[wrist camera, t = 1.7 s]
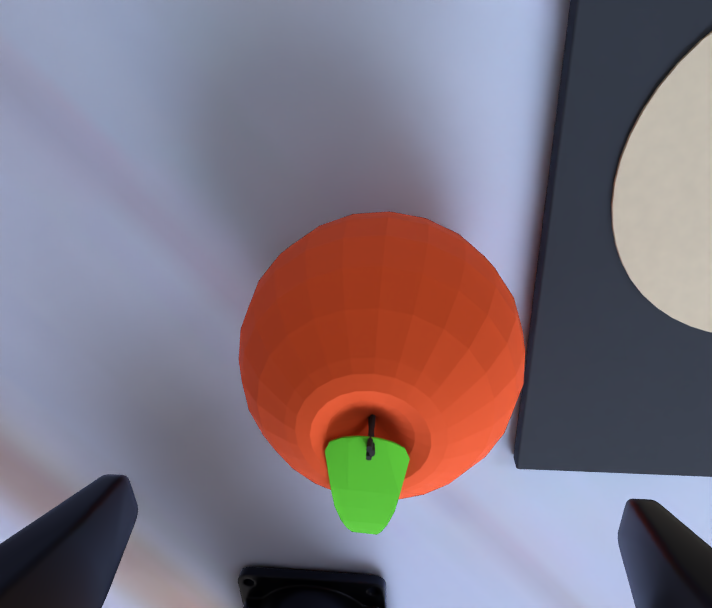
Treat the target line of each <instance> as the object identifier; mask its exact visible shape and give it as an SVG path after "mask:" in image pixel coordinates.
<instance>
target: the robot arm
mask: <svg viewBox="0 0 712 608" xmlns="http://www.w3.org/2000/svg"><path fill="white" fill-rule="evenodd" d="M137 514H138V505H137V502H136V498H135V495H134V492H133V489H132V486H131V483H130V480H129V478H128V477H126V476H125V475H113V474H107V475H103V476H101V477H100V478H98V479H97V480H95V481H94V482H92V483H91V484H89V485H88V486H86V487H85V488H83V489H82V490H80V491H79V492H77V493H76V494H74V495H73V496H71V497H70V498H68V499H67V500H65V501H64V502H62V503H61V504H59V505H58V506H56V507H55V508H53V509H52V510H50V511H49V512H47V513H46V514H44V515H43V516H41V517H40V518H38V519H37V520H35V521H34V522H32V523H31V524H29V525H28V526H26V527H25V528H23V529H22V530H20V531H19V532H17V533H16V534H14V535H13V536H11V537H10V538H8V539H7V540H5V541H4V542H3V543H1V544H0V608H102V605H103V603H104V601H105V599H106V596H107V594H108V592H109V589H110V587H111V584H112V582H113V579H114V576H115V574H116V571H117V569H118V566H119V563H120V561H121V558H122V555H123V553H124V550H125V548H126V545H127V542H128V540H129V537H130V535H131V532H132V529H133V527H134V524H135V522H136V519H137ZM618 543H619V548H620V552H621V555H622V559H623V563H624V566H625V570H626V574H627V577H628V581H629V585H630V588H631V592H632V595H633V599H634V603H635V606H636V608H712V548H711V547H710V546H709V545H708V544H707V543H706V542H704V541H703V540H702V539H701V538H700V537H698V536H697V535H696V534H695V533H694V532H692V531H691V530H690V529H689V528H688V527H687V526H685V525H684V524H683V523H682V522H681V521H679V520H678V519H677V518H676V517H675V516H674V515H672V514H671V513H670V512H669V511H668V510H666V509H665V508H664V507H663V506H662V505H660V504H659V503H658V502H656V501H654V500H647V499H630V500H628V501H627V502H626V505H625V508H624V512H623V516H622V519H621V523H620V527H619V531H618ZM238 584H239V588H240V592H241V597H242V601H243V605H244V606H243V608H386V583H385V580H384V579H383V578H381V577H379V576H376V575H365V574H350V573H335V572H320V571H305V570H290V569H275V568H260V567H245V568H243V569H242V570H241V572H240V575H239V578H238Z"/></svg>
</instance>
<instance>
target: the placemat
mask: <svg viewBox="0 0 712 608" xmlns="http://www.w3.org/2000/svg"><path fill="white" fill-rule="evenodd" d="M514 460H515V464H516V468H518V469H536V470H560V471H584V472H609V473H633V474H658V475H682V476H706V477H712V0H571V2H570V10H569V18H568V26H567V34H566V42H565V50H564V58H563V66H562V74H561V82H560V90H559V98H558V106H557V114H556V122H555V130H554V138H553V146H552V154H551V162H550V170H549V178H548V186H547V194H546V202H545V210H544V218H543V226H542V234H541V242H540V250H539V258H538V266H537V274H536V282H535V291H534V299H533V307H532V315H531V323H530V331H529V339H528V347H527V355H526V363H525V371H524V384H523V387H522V395H521V403H520V411H519V419H518V427H517V435H516V443H515V451H514Z"/></svg>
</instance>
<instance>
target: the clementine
mask: <svg viewBox="0 0 712 608" xmlns="http://www.w3.org/2000/svg"><path fill="white" fill-rule="evenodd" d="M239 365H240V372H241V379H242V384H243V388H244V392H245V396H246V400H247V404H248V409H249V411H250V413H251V415H252V416H253V418H254V420H255V422H256V423H257V425H258V427H259V429H260V430H261V432H262V434H263V436H264V437H265V438H266V439H267V441H268V442H269V443H270V444H271V446H272V447H273V448H274V449H275V450H276V451H277V453H278V454H279V455H280V456H281V457H282V458H283V459H284V460H285V461H286V462H287V463H288V464H289V465H290V466H291V467H292V468H293V469H294V470H296V471H297V472H299V473H300V474H302V475H303V476H305V477H306V478H308V479H309V480H311V481H312V482H314V483H315V484H318V485H320V486H323V487H325V488H327V489H330V490H331V492H332V497H333V501H334V506H335V508H336V510H337V512H338V515H339V517H340V519H341V521H342V522H343V523H344V525H345V526H346V527H347V528H348V529H349V530H350V531H352V532H358V533H367V534H378V533H380V532H381V531H382V530H383V529H384V528H385V527H386V526H387V524H388V522H389V521H390V519H391V517H392V515H393V513H394V511H395V508H396V505H397V502H398V499H403V498H408V497H413V496H418V495H424V494H426V493H428V492H431V491H433V490H436V489H438V488H440V487H443V486H445V485H447V484H449V483H450V482H452V481H453V480H455V479H456V478H457V477H459V476H460V475H461V474H463V473H464V472H465V471H467V470H468V469H469V468H471V467H472V466H473V465H475V464H476V463H477V462H479V461H480V460H482V459H483V458H484V457H486V455H487V454H488V453H489V452H490V450H491V449H492V448H493V446H494V445H495V444H496V443H497V441H498V440H499V439H500V438H501V436H502V435H503V434H504V432H505V430H506V427H507V425H508V422H509V420H510V417H511V415H512V412H513V410H514V407H515V404H516V402H517V399H518V397H519V394H520V392H521V389H522V386H523V384H524V365H525V345H524V337H523V330H522V326H521V323H520V319H519V315H518V311H517V308H516V304H515V300H514V297H513V296H512V294H511V293H510V291H509V290H508V288H507V286H506V285H505V283H504V282H503V280H502V279H501V277H500V276H499V274H498V272H497V271H496V269H495V268H494V267H493V265H492V264H491V263H490V262H489V261H488V260H487V259H486V257H485V256H484V255H482V254H481V253H480V252H479V251H478V250H477V249H475V248H474V247H473V246H472V245H471V244H470V243H469V242H467V241H466V240H465V239H464V238H463V237H462V236H460V235H459V234H458V233H456V232H454V231H452V230H449V229H447V228H445V227H443V226H441V225H439V224H437V223H435V222H433V221H430V220H428V219H426V218H422V217H416V216H411V215H406V214H400V213H395V212H390V211H389V212H375V213H361V214H352V215H349V216H346V217H343V218H340V219H337V220H334V221H332V222H329V223H326V224H323V225H320V226H318V227H317V228H316V229H314V230H313V231H311V232H310V233H308V234H307V235H305V236H304V237H303V238H301V239H300V240H298V241H297V242H295V243H294V244H293V245H291V246H290V247H289V248H287V249H286V250H285V251H283V252H282V253H281V254H280V255H279V256H278V257H277V258H276V260H275V261H274V262H273V263H272V265H271V266H270V267H269V269H268V270H267V271H266V272H265V274H264V275H263V276H262V277H261V279H260V280H259V282H258V284H257V287H256V289H255V292H254V295H253V297H252V300H251V302H250V305H249V307H248V310H247V313H246V316H245V318H244V321H243V324H242V327H241V331H240V348H239Z"/></svg>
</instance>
